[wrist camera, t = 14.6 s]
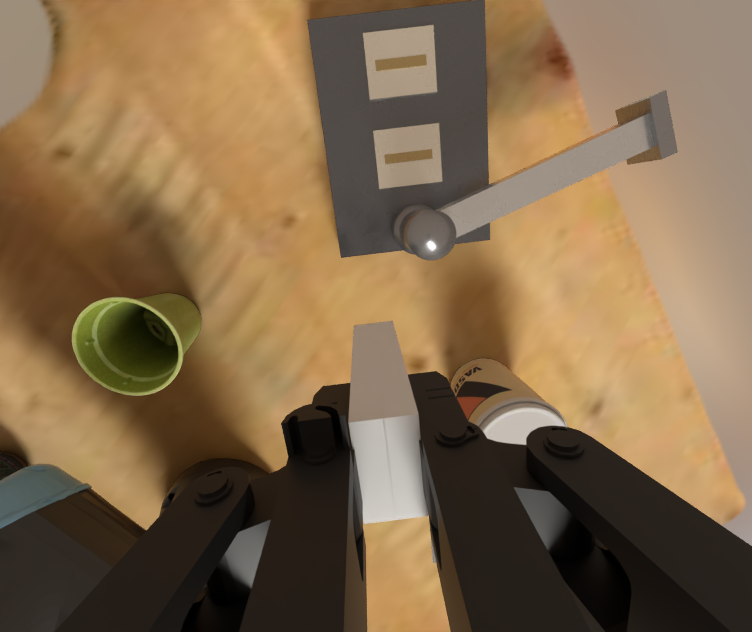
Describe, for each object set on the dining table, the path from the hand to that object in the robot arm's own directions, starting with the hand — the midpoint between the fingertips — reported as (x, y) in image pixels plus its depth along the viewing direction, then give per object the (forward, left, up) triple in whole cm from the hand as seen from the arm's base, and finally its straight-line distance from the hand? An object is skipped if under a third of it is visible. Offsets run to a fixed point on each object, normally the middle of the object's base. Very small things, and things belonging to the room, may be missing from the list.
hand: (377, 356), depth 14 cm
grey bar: (+13, +6, -20) cm, 25 cm away
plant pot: (-22, -4, -27) cm, 35 cm away
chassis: (+5, +11, -26) cm, 29 cm away
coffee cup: (+12, -17, -27) cm, 34 cm away
